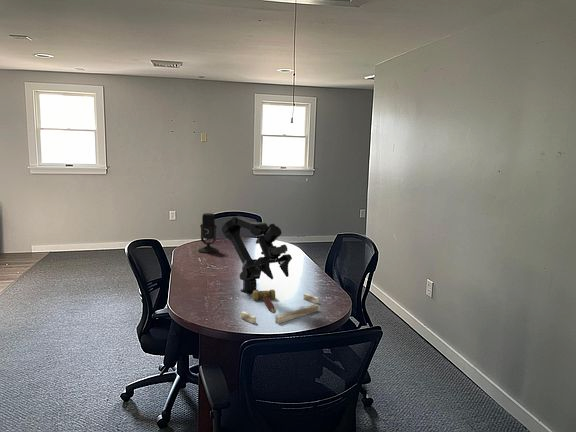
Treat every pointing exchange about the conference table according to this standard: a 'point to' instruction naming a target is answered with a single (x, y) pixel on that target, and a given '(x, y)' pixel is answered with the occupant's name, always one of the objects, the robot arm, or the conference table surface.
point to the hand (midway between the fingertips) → (280, 277)
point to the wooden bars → (289, 315)
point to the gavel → (265, 297)
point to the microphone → (208, 233)
